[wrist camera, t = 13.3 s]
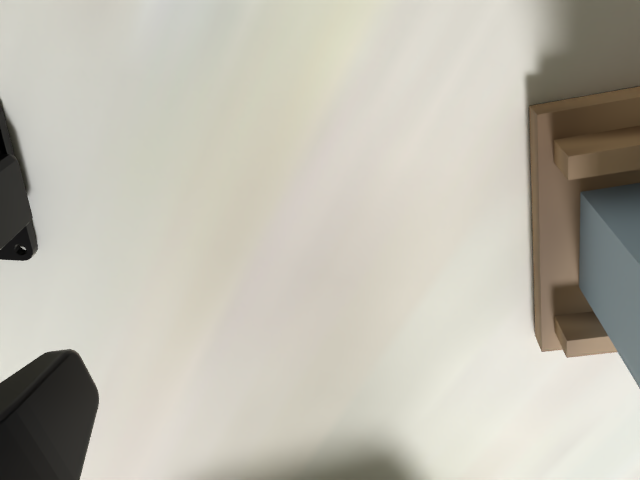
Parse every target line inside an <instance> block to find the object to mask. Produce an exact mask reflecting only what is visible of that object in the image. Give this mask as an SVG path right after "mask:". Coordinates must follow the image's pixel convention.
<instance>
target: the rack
mask: <svg viewBox="0 0 640 480" xmlns="http://www.w3.org/2000/svg"><path fill="white" fill-rule="evenodd" d="M529 119H530V156H531V194H532V232H533V269H534V307H535V337H536V339H537V341H538V344H539V346H540V348H541V351H542V352H545V351H554V350H563V351H564V353H565V355H566V357H567V358H568V357H577V356H586V355H595V354H603V353H612V352H618V351H617V350H616V348H615V346H614V345H613V343H612V341H611V340H610V338H609V336H608V335H607V333H606V331H605V330H604V328H603V326H602V325H601V323H600V321H599V320H598V318H597V316H596V315H595V313H594V311H593V310H592V308H591V306H590V305H589V303H588V301H587V300H586V298H585V296H584V295H583V293H582V291H581V289H580V288H579V257H580V192H583V191H590V190H596V189H603V188H609V187H616V186H622V185H628V184H635V183H640V86H639V87H633V88H628V89H622V90H616V91H611V92H605V93H599V94H594V95H588V96H582V97H577V98H571V99H565V100H560V101H554V102H548V103H543V104H537V105H531V106H529Z"/></svg>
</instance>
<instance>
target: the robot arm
mask: <svg viewBox="0 0 640 480" xmlns="http://www.w3.org/2000/svg"><path fill="white" fill-rule="evenodd" d="M31 220H32V213H31V209H30V205H29V201H28V197H27V193H26V189H25V185H24V181H23V178H22V174H21V170H20V166H19V162H18V160H17V159H16V157H15V156H14V152H13V148H12V144H11V140H10V136H9V132H8V128H7V125H6V121H5V117H4V113H3V110H2V108H1V106H0V259H2V260H21V261H24V260H29V259H30V258H31V257H32V256H33V255H34V254H35V253H36V252H37V250H38V245H37V241H36V237H35V233H34V230H33V226H32V222H31ZM19 244H20V245H23V246H24V247H25V248H26V250H24V249H22V248H21V247H20V245H19ZM98 404H99V394H98V390H97V387H96V385H95V383H94V381H93V379H92V378H91V376H90V374H89V372H88V370H87V368H86V366H85V364H84V362H83V360H82V359H81V357H80V355H79V354H78V353H77V352H76V351H74V350H71V349H67V350H59V351H51V352H47V353H44V354H43V355H41V356H40V357H38V358H37V359H35V360H34V361H32V362H31V363H29V364H28V365H26V366H25V367H23V368H22V369H20V370H19V371H18V372H16V373H15V374H13V375H12V376H10V377H9V378H7V379H6V380H4V381H3V382H1V383H0V480H80V476H81V472H82V468H83V464H84V460H85V456H86V452H87V448H88V444H89V440H90V437H91V433H92V429H93V425H94V421H95V417H96V413H97V409H98Z"/></svg>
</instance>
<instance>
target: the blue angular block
mask: <svg viewBox="0 0 640 480" xmlns="http://www.w3.org/2000/svg"><path fill="white" fill-rule="evenodd" d="M579 288H580V289H581V291H582V293H583V295H584V296H585V298H586V300H587V301H588V303H589V305H590V306H591V308H592V310H593V311H594V313H595V315H596V316H597V318H598V320H599V321H600V323H601V325H602V326H603V328H604V330H605V331H606V333H607V335H608V336H609V338H610V340H611V341H612V343H613V345H614V346H615V348H616V350H617V351H618V353H619V355H620V356H621V358H622V360H623V361H624V363H625V365H626V366H627V368H628V370H629V371H630V373H631V375H632V376H633V378H634V380H635V381H636V383H637V385H638V386H639V388H640V183H635V184H628V185H622V186H616V187H609V188H603V189H596V190H590V191H583V192H580V257H579Z"/></svg>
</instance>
